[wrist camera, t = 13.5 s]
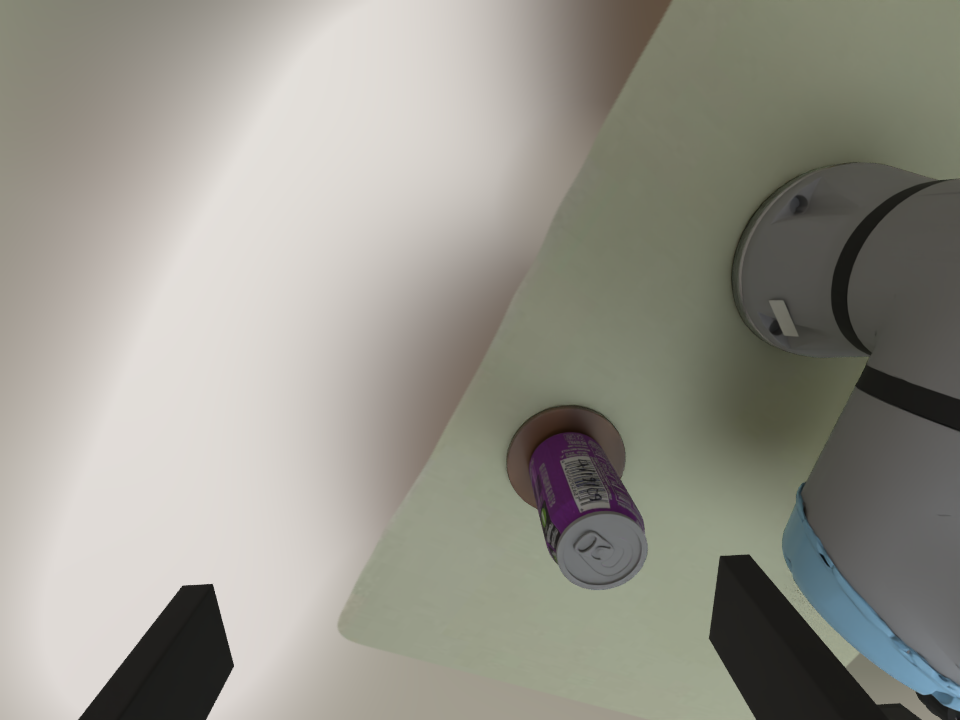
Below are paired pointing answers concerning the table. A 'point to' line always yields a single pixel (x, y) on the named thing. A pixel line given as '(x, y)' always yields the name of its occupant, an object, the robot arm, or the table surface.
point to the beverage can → (586, 513)
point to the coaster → (552, 425)
